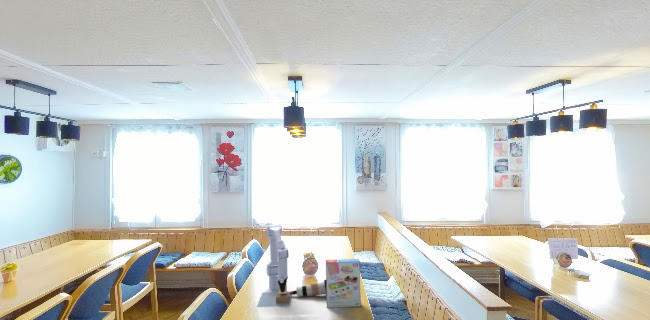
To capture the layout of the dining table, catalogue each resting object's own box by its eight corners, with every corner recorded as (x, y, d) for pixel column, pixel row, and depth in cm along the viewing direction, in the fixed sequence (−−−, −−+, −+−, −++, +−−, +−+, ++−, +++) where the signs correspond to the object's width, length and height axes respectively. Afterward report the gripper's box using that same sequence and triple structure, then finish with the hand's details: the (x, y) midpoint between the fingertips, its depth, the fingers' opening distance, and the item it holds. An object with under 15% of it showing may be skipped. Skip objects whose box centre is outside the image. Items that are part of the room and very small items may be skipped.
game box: (359, 303, 201) (359, 258, 201) (361, 307, 195) (360, 261, 196) (326, 304, 200) (325, 259, 200) (326, 308, 195) (325, 262, 195)
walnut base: (277, 298, 208) (277, 291, 208) (290, 297, 209) (289, 291, 209) (276, 303, 200) (275, 296, 200) (289, 303, 201) (289, 296, 201)
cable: (290, 302, 213) (288, 286, 218) (340, 294, 216) (338, 278, 220) (288, 301, 204) (287, 284, 209) (341, 293, 207) (339, 276, 211)
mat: (262, 293, 218) (262, 292, 218) (292, 292, 219) (292, 291, 219) (256, 307, 196) (256, 306, 196) (290, 306, 197) (290, 305, 197)
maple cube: (279, 290, 207) (279, 283, 207) (286, 290, 207) (286, 283, 207) (278, 293, 202) (278, 286, 202) (286, 293, 202) (286, 286, 202)
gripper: (277, 265, 212) (277, 286, 212) (275, 272, 197) (275, 295, 197) (288, 264, 212) (288, 285, 212) (286, 272, 198) (287, 294, 197)
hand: (283, 290), depth 205 cm, fingers closed on maple cube, 4 cm apart
